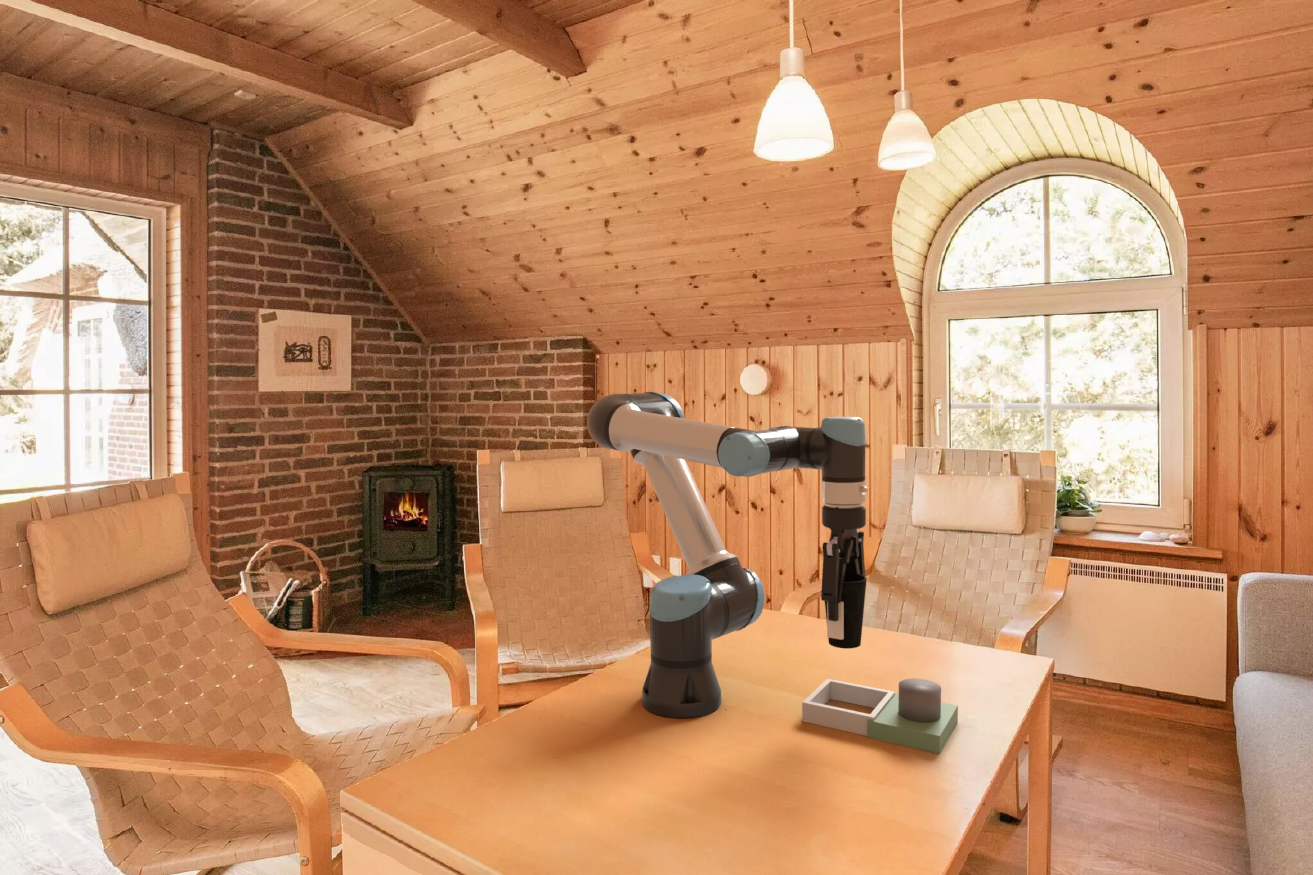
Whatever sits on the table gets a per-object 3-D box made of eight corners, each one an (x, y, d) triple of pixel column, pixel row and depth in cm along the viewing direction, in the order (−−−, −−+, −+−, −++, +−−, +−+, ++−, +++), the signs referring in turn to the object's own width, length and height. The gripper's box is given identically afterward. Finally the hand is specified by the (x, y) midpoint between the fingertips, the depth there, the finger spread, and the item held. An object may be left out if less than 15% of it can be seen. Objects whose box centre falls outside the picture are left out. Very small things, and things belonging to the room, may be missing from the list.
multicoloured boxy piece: (801, 722, 145) (801, 678, 144) (828, 695, 157) (828, 655, 156) (939, 753, 132) (940, 706, 132) (957, 721, 144) (958, 678, 144)
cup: (866, 651, 140) (866, 583, 139) (821, 649, 141) (821, 581, 141) (866, 637, 147) (866, 572, 146) (823, 635, 149) (823, 571, 148)
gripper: (842, 514, 132) (842, 651, 134) (884, 498, 149) (884, 619, 150) (799, 511, 136) (800, 644, 138) (845, 495, 153) (845, 613, 155)
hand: (844, 631), depth 144 cm, fingers closed on cup, 8 cm apart
